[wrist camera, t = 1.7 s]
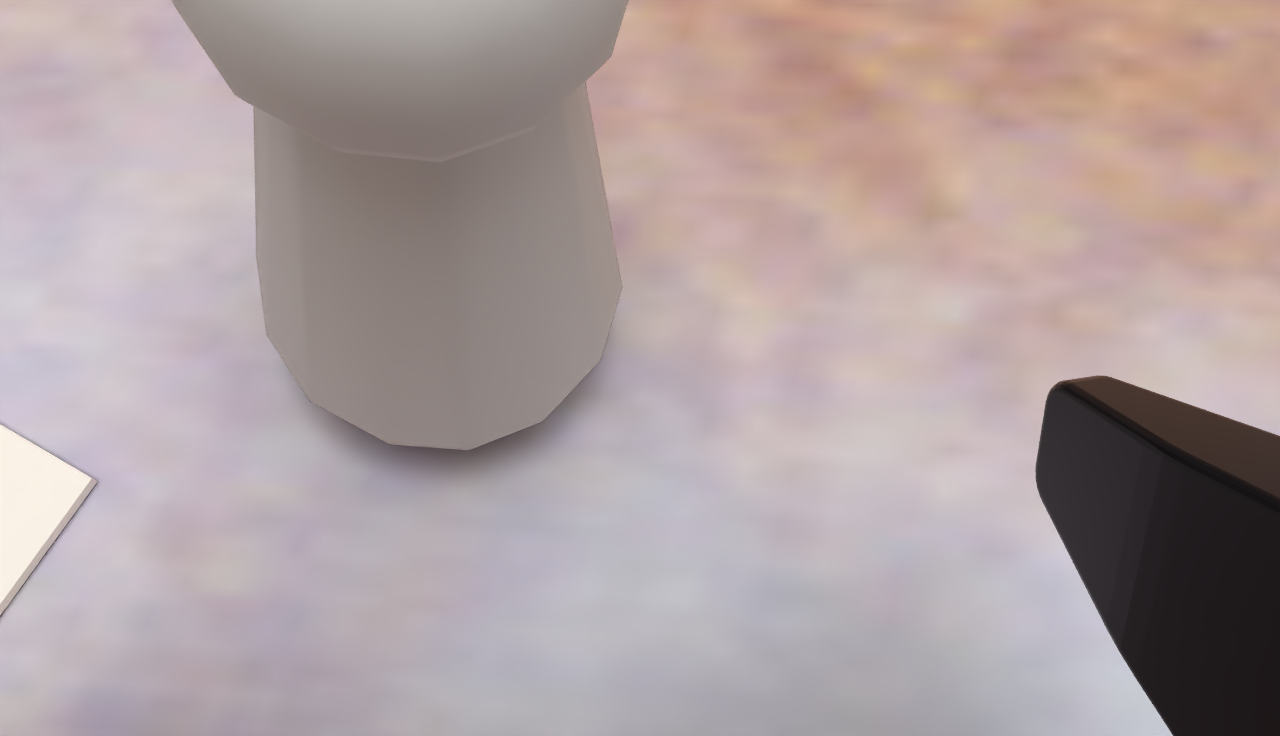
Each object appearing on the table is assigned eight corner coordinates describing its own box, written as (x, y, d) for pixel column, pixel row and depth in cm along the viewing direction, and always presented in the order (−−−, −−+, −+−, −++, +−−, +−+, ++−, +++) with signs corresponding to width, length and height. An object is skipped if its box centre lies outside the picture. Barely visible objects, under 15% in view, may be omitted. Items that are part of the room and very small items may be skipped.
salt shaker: (219, 374, 21) (-184, -116, 8) (392, 121, 23) (267, -594, 10) (510, 535, 21) (532, 277, 8) (662, 269, 22) (871, -276, 10)
